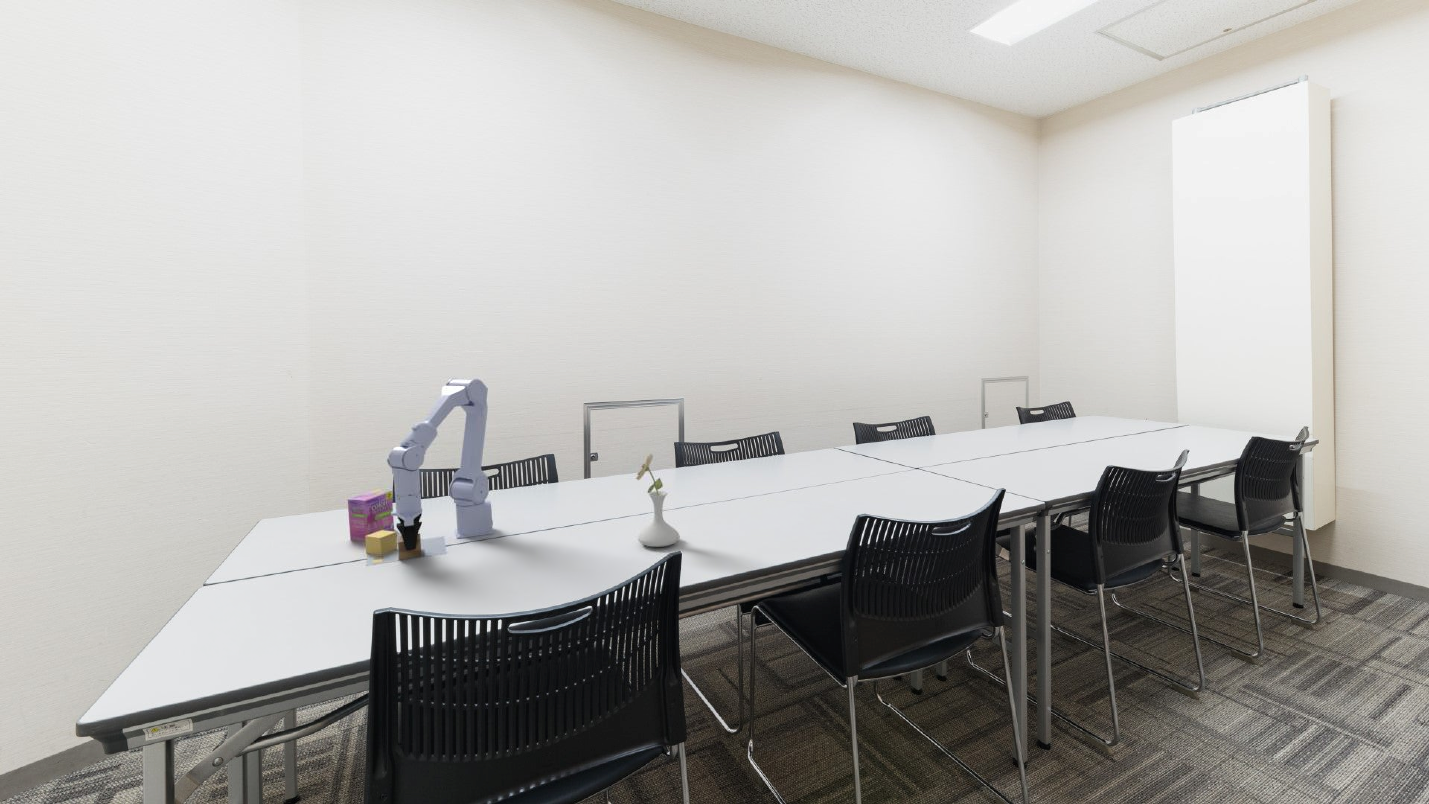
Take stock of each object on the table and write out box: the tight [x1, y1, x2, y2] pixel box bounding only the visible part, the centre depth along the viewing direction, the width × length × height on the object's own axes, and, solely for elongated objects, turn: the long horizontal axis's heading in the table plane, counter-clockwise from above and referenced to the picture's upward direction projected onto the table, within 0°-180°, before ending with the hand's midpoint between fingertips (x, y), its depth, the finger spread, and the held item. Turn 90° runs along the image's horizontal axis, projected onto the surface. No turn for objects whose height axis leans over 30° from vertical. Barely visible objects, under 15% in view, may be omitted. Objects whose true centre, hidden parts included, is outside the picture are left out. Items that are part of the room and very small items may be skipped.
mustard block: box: [365, 530, 398, 555], centre depth 154 cm, size 5×5×4 cm
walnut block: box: [397, 533, 422, 560], centre depth 151 cm, size 5×5×4 cm
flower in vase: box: [635, 453, 681, 548], centre depth 158 cm, size 13×11×25 cm
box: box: [347, 489, 395, 542], centre depth 167 cm, size 10×6×12 cm, turn 168°
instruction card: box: [365, 535, 447, 567], centre depth 155 cm, size 18×15×1 cm
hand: (411, 545), depth 151 cm, fingers open, 6 cm apart
